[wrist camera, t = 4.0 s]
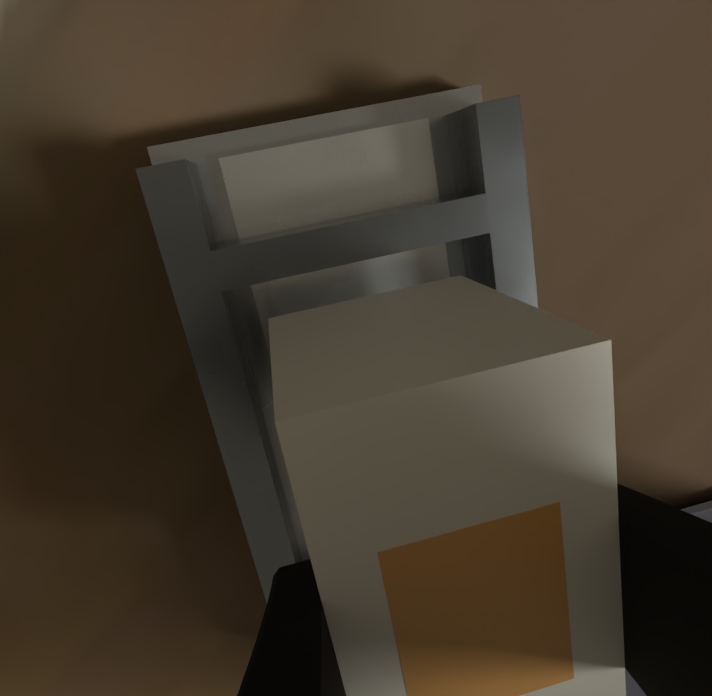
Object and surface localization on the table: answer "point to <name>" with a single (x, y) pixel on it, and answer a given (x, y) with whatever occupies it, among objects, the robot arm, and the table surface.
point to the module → (456, 491)
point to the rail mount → (326, 250)
